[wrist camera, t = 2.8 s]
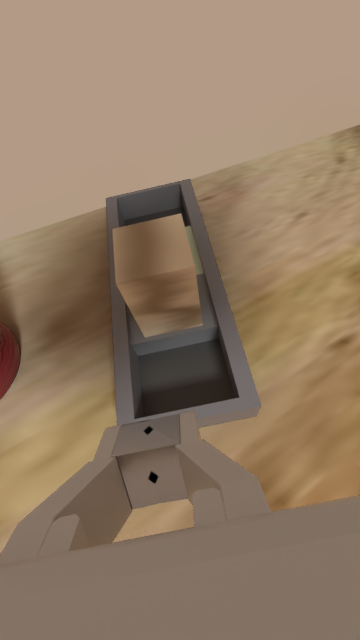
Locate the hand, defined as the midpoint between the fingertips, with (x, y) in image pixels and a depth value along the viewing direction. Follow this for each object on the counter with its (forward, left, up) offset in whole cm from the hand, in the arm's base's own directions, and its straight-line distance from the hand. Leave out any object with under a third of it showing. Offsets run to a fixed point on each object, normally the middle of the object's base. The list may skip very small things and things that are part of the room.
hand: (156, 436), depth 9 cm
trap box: (0, -19, -18) cm, 26 cm away
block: (0, -15, -15) cm, 21 cm away
